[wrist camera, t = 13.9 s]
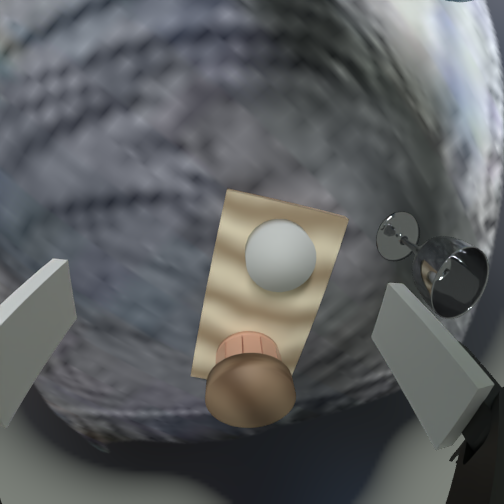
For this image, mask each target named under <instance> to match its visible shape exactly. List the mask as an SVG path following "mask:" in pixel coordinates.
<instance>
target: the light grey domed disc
mask: <svg viewBox="0 0 504 504" xmlns="http://www.w3.org/2000/svg"><path fill="white" fill-rule="evenodd" d="M245 259H246V267H247V271H248V273H249V275H250V277H251V279H252V280H253V281H254V282H255V283H256V284H257V285H258V286H260V287H262V288H263V289H266V290H268V291H272V292H286V291H290V290H293V289H295V288H297V287H299V286H301V285H302V284H303V283H304V282H306V281H307V279H308V278H309V277H310V276H311V274H312V272H313V270H314V268H315V264H316V250H315V246H314V244H313V242H312V241H311V239H310V238H309V236H308V235H307V233H306V232H305V231H304V229H303V228H302V227H301V226H299V225H298V224H296V223H295V222H293V221H290V220H287V219H272V220H268V221H266V222H264V223H262V224H260V225H259V226H257V227H256V228H255V229H254V230H253V231H252V232H251V234H250V235H249V237H248V239H247V242H246V246H245Z"/></svg>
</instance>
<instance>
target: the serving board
mask: <svg viewBox="0 0 504 504" xmlns="http://www.w3.org/2000/svg"><path fill="white" fill-rule="evenodd" d="M272 219H287V220H290V221H293V222H295V223H296V224H298V225H299V226H301V227H302V228H303V229H304V231H305V232H306V233H307V235H308V236H309V238H310V239H311V241H312V242H313V244H314V246H315V250H316V264H315V268H314V270H313V272H312V274H311V276H310V277H309V278H308V279H307V281H306V282H304V283H303V284H302V285H301V286H299V287H297V288H295V289H293V290H290V291H286V292H272V291H268V290H266V289H263V288H262V287H260V286H258V285H257V284H256V283H255V282H254V281H253V280H252V279H251V277H250V275H249V273H248V271H247V267H246V259H245V246H246V242H247V239H248V237H249V235H250V234H251V232H252V231H253V230H254V229H255V228H256V227H257V226H259V225H260V224H262V223H264V222H266V221H268V220H272ZM348 220H349V219H348V218H346V217H345V216H342V215H338V214H334V213H330V212H327V211H323V210H319V209H315V208H311V207H306V206H302V205H298V204H294V203H290V202H286V201H281V200H277V199H273V198H268V197H264V196H259V195H255V194H250V193H246V192H241V191H237V190H232V189H227V192H226V197H225V201H224V206H223V210H222V215H221V220H220V224H219V229H218V234H217V238H216V243H215V248H214V253H213V258H212V263H211V268H210V273H209V278H208V283H207V288H206V293H205V299H204V304H203V309H202V314H201V320H200V325H199V331H198V336H197V342H196V348H195V353H194V359H193V365H192V371H191V376H192V377H198V378H203V379H207V377H208V374H209V372H210V371H211V369H212V368H213V367H214V366H215V365H216V352H217V349H218V347H219V345H220V343H221V342H222V341H223V340H224V339H225V338H227V337H228V336H230V335H232V334H234V333H238V332H242V331H255V332H260V333H263V334H265V335H267V336H269V337H270V338H271V339H273V341H274V342H275V343H276V344H277V346H278V349H279V353H280V354H281V359H282V362H283V363H284V364H285V365H286V366H287V367H288V369H289V370H290V372H291V375H292V374H293V372H294V369H295V367H296V364H297V362H298V360H299V357H300V355H301V352H302V350H303V347H304V345H305V342H306V340H307V337H308V335H309V332H310V329H311V327H312V324H313V322H314V319H315V316H316V314H317V311H318V308H319V306H320V303H321V300H322V297H323V295H324V292H325V289H326V286H327V284H328V281H329V278H330V275H331V272H332V269H333V266H334V263H335V260H336V257H337V255H338V252H339V248H340V245H341V242H342V239H343V236H344V233H345V230H346V227H347V224H348Z"/></svg>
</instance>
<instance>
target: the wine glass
mask: <svg viewBox="0 0 504 504" xmlns="http://www.w3.org/2000/svg"><path fill="white" fill-rule="evenodd" d="M419 237H420V228H419V224H418V222H417V220H416V219H415V217H413V216H412V215H411V214H409V213H406V212H396V213H393V214H391V215H390V216H388V217H387V218H386V219H385V220H384V221H383V222H382V224H381V225H380V227H379V229H378V232H377V237H376V244H377V248H378V251H379V253H380V254H381V255H382V256H383V257H384V258H385V259H387V260H390V261H399V260H402V259H405V258H406V257H408V256H409V255H410V254H411V253H412V252H413V253H414V254H415V257H414V259H413V264H412V276H413V280H414V283H415V285H416V287H417V289H418V291H419V293H420V294H421V296H422V297H423V299H424V300H425V302H426V303H427V304H428V305H429V306H430V307H431V309H432V310H433V311H434V312H435V313H437V314H438V315H439V316H440V317H442V318H445V319H454V318H457V317H459V316H462V315H463V314H465V313H466V312H468V311H469V310H470V309H471V308H472V307H473V306H474V305H475V304H476V303H477V301H478V300H479V299H480V297H481V295H482V294H483V292H484V289H485V287H486V284H487V281H488V276H489V264H488V260H487V258H486V256H485V254H484V253H483V252H482V251H481V250H480V249H478V248H477V247H475V246H473V245H472V244H470V243H468V242H466V241H463V240H460V239H457V238H454V237H449V236H437V237H433V238H431V239H429V240H428V241H426V242H425V243H423V244H422V245H421V246H419V245H417V244H418V241H419Z"/></svg>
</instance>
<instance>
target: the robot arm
mask: <svg viewBox="0 0 504 504" xmlns="http://www.w3.org/2000/svg"><path fill="white" fill-rule="evenodd" d="M447 1H454V2H467V1H472V0H447ZM76 319H77V316H76V310H75V305H74V299H73V293H72V287H71V280H70V273H69V265H68V260H62V259H52V260H51V261H49V262H48V263H47V264H46V265H45V266H43V267H42V268H41V269H40V270H39V271H38V272H36V273H35V274H34V275H33V276H32V277H31V278H29V279H28V280H27V281H26V282H25V283H24V284H23V285H21V286H20V287H19V288H18V289H17V290H16V291H15V292H14V293H13V294H11V295H10V296H9V297H8V298H7V299H6V300H5V301H4V302H3V303H2V304H1V305H0V426H1V427H4V428H7V427H8V425H9V423H10V421H11V419H12V418H13V416H14V414H15V412H16V411H17V409H18V407H19V406H20V404H21V402H22V401H23V399H24V397H25V395H26V394H27V392H28V390H29V389H30V387H31V386H32V384H33V383H34V381H35V379H36V378H37V376H38V375H39V373H40V371H41V370H42V368H43V367H44V365H45V364H46V362H47V361H48V359H49V358H50V356H51V355H52V353H53V352H54V350H55V349H56V347H57V346H58V344H59V343H60V341H61V340H62V339H63V337H64V336H65V334H66V333H67V331H68V330H69V329H70V327H71V326H72V324H73V323H74V322H75V320H76ZM371 338H372V340H373V341H374V343H375V345H376V346H377V348H378V350H379V351H380V353H381V355H382V356H383V358H384V360H385V361H386V363H387V365H388V366H389V368H390V370H391V371H392V373H393V375H394V377H395V378H396V380H397V382H398V383H399V385H400V387H401V389H402V390H403V392H404V394H405V396H406V397H407V399H408V401H409V403H410V405H411V406H412V408H413V410H414V412H415V413H416V415H417V417H418V419H419V420H420V423H421V424H422V426H423V428H424V430H425V432H426V434H427V435H428V437H429V439H430V441H431V443H432V445H433V447H434V448H435V450H439V449H442V448H445V447H448V446H451V445H453V444H454V442H455V441H456V440H457V438H458V437H459V436H460V435H461V433H462V434H463V436H464V437H465V440H464V442H463V443H462V444H461V445H460V447H459V448H458V449H457V450H456V452H455V453H454V454H453V455H452V457H451V458H450V460H449V461H453V460H454V458H455V457H456V456H458V455H459V456H458V460H457V461H456V463H457V465H456V469H455V473H454V477H453V480H452V484H451V488H450V491H449V495H448V498H447V501H446V504H504V387H501V386H500V385H499V384H498V383H497V381H496V380H495V379H494V378H493V377H492V375H491V374H490V373H489V372H488V371H487V370H486V368H485V367H484V366H483V365H482V364H480V361H479V360H478V359H477V358H475V357H474V355H473V354H472V352H471V351H470V350H469V349H468V348H467V347H466V346H464V345H463V344H462V343H460V342H459V341H457V340H456V339H455V338H454V337H453V336H452V335H451V333H450V332H449V331H448V330H447V329H446V328H445V327H444V326H443V325H442V324H441V323H440V321H439V320H438V319H437V318H436V317H435V316H434V315H433V314H432V313H431V312H430V311H429V310H428V309H427V308H426V307H425V306H424V305H423V304H422V303H421V302H420V300H419V299H418V298H417V297H416V296H415V295H414V294H413V293H412V292H411V291H410V290H409V289H408V288H407V287H406V286H405V285H404V284H403V283H388V284H387V288H386V291H385V295H384V298H383V301H382V305H381V308H380V311H379V314H378V318H377V321H376V324H375V327H374V330H373V333H372V336H371ZM0 504H2V503H1V500H0Z"/></svg>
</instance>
